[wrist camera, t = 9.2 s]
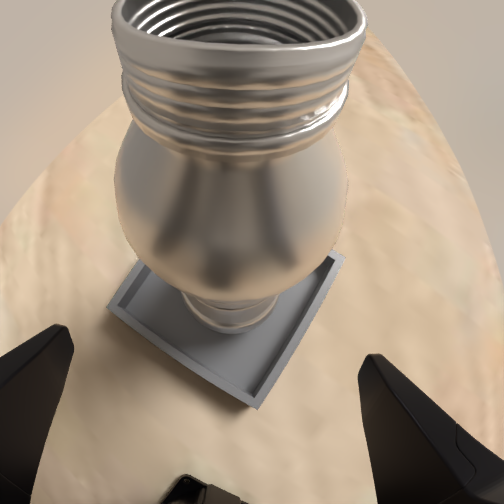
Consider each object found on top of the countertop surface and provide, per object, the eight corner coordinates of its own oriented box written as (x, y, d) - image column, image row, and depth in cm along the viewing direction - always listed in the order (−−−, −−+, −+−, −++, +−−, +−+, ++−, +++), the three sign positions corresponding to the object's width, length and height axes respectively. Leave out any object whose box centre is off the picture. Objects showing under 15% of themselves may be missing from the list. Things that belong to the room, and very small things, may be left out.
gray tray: (254, 403, 20) (257, 409, 18) (117, 311, 21) (106, 307, 19) (335, 266, 24) (345, 257, 21) (206, 189, 25) (204, 174, 23)
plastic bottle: (206, 349, 20) (-6, 334, 1) (172, 263, 22) (40, -5, 3) (289, 314, 22) (533, 134, 3) (252, 232, 23) (309, -53, 4)
